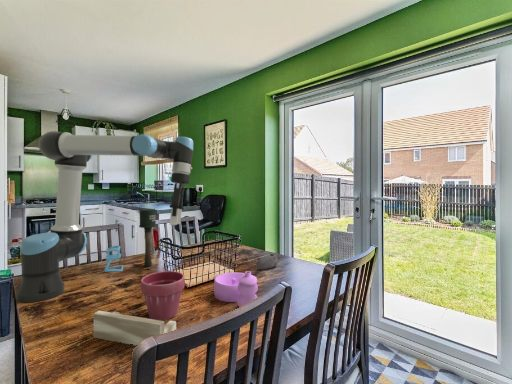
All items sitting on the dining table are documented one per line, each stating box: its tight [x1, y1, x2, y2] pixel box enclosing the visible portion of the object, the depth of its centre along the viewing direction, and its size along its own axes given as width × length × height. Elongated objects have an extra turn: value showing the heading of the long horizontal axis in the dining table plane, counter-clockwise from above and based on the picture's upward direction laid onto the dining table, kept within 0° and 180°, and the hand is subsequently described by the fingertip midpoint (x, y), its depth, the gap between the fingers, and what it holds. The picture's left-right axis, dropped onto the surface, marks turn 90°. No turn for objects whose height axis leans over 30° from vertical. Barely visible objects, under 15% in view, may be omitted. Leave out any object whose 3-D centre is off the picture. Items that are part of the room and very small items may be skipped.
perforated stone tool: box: [256, 252, 279, 271], centre depth 147 cm, size 15×5×7 cm, turn 132°
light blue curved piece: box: [103, 245, 124, 273], centre depth 141 cm, size 8×8×12 cm
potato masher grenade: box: [138, 208, 157, 268], centre depth 148 cm, size 8×9×30 cm
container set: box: [213, 270, 259, 308], centre depth 109 cm, size 25×15×13 cm, turn 27°
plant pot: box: [140, 270, 186, 321], centre depth 95 cm, size 14×14×13 cm
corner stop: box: [92, 310, 177, 347], centre depth 82 cm, size 8×22×7 cm, turn 75°
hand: (175, 224), depth 116 cm, fingers open, 13 cm apart
